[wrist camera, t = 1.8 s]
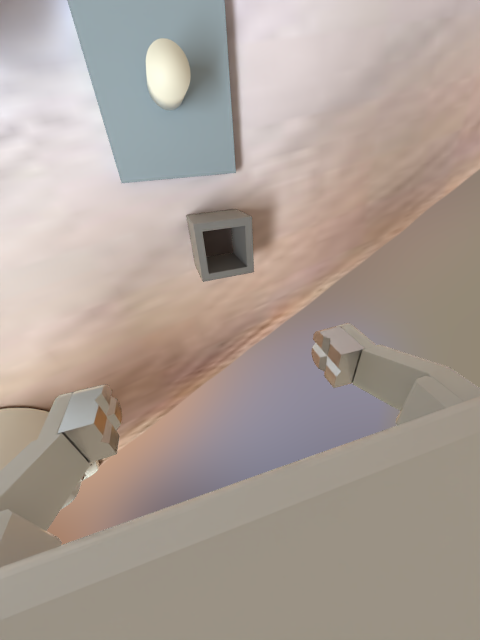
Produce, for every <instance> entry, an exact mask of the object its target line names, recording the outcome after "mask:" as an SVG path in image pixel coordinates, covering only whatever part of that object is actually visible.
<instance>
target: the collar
mask: <svg viewBox="0 0 480 640" xmlns="http://www.w3.org/2000/svg"><path fill="white" fill-rule="evenodd" d="M186 217H187V223H188V228H189V234H190V239H191V245H192V250H193V256H194V262H195V266H196V268H197V270H198V272H199V275H200V277H201V279H202V281H203V282H204V281H210V280H215V279H220V278H226V277H231V276H236V275H241V274H247V273H252V272H254V262H253V235H252V216H249V215H247V214H245V213H243V212H241V211H239V210H237V209H232V210H224V211H216V212H208V213H200V214H192V215H186ZM225 228H231V234H232V246H233V253H227V254H221V255H215V256H209V257H206V252H205V246H204V239H203V232H204V231H211V230H218V229H225Z"/></svg>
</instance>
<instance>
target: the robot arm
mask: <svg viewBox="0 0 480 640" xmlns="http://www.w3.org/2000/svg"><path fill="white" fill-rule="evenodd" d="M313 340H314V341H315V342H316V343H315V344H314V346H313V347H312V358H313V361H314V363H315V364H316V366H317V367H318V368H319V369H321V370H323V371H325V375H324V376H325V378H326V379H327V380H328V381H329V382H330V384H331V385H332V386H333V388H336V387H340V386H343V385H347V384H351V383H353V385H355V386H357V387H359V388H361V389H362V390H364V391H366V392H368V393H369V394H371V395H373V396H375V397H376V398H378V399H380V400H382V401H384V402H385V403H387V404H389V405H390V406H392V407H394V408H396V409H398V410H399V411H400V413H399V414H398V417H397V418H396V424H397V426H394V427H392V428H389V429H386V430H383V431H381V432H378V433H375V434H372V435H369V436H367V437H364V438H361V439H358V440H355V441H353V442H350V443H347V444H344V445H341V446H338V447H335V448H333V449H330V450H327V451H324V452H322V453H319V454H316V455H313V456H310V457H308V458H304V459H302V460H299V461H296V462H293V463H290V464H288V465H285V466H282V467H279V468H276V469H274V470H271V471H268V472H265V473H262V474H260V475H257V476H254V477H251V478H248V479H246V480H243V481H240V482H237V483H234V484H232V485H229V486H226V487H223V488H220V489H218V490H215V491H212V492H210V493H206V494H204V495H201V496H198V497H195V498H193V499H190V500H187V501H184V502H181V503H178V504H176V505H173V506H170V507H167V508H164V509H162V510H159V511H156V512H153V513H150V514H148V515H145V516H142V517H139V518H136V519H134V520H131V521H128V522H125V523H122V524H120V525H117V526H114V527H111V528H108V529H106V530H103V531H100V532H97V533H95V534H92V535H89V536H86V537H83V538H80V539H78V540H75V541H72V542H69V543H66V544H63V545H61V541H60V539H59V538H57V537H56V536H54V535H52V534H51V533H49V532H47V529H48V528H49V526H50V525H51V523H52V522H53V520H54V519H55V517H56V516H57V514H58V513H59V511H60V510H61V509H62V508H64V507H65V506H67V505H68V504H69V503H71V502H72V501H73V500H74V499H75V497H76V496H77V494H78V491H79V489H80V485H81V481H83V480H84V479H86V478H88V477H90V476H91V475H93V474H94V473H95V472H96V471H98V468H99V461H98V460H100V459H103V458H106V457H109V456H112V455H115V454H117V448H118V442H119V434H118V433H117V431H116V430H117V429H118V428H119V426H120V425H121V421H122V412H121V407H120V403H119V402H118V400H117V399H116V398H114V397H111V395H112V390H111V388H110V387H109V385H106V384H105V385H100V386H96V387H92V388H87V389H83V390H78V391H75V392H71V393H67V394H62V395H59V396H58V397H57V398H56V399H55V401H54V403H53V405H52V407H51V410H50V412H47V411H43V410H38V409H32V408H6V409H0V640H480V388H478V387H477V386H476V385H474V384H473V383H471V382H470V381H469V380H467V379H466V378H464V377H462V376H461V375H460V374H459V373H457V372H456V371H454V370H453V369H451V368H450V367H447V366H444V365H441V364H438V363H435V362H432V361H429V360H426V359H423V358H420V357H417V356H413V355H410V354H407V353H404V352H401V351H398V350H395V349H392V348H389V347H386V346H383V345H376V344H375V343H374V342H372V341H371V340H370V339H369V338H367V337H366V336H365V335H364V334H363V333H361V332H360V331H359V330H358V329H357V328H355V327H354V326H353V325H352V324H349V323H346V324H342V325H339V326H335V327H331V328H328V329H324V330H320V331H316V332H315V333H314V337H313Z"/></svg>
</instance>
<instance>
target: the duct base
mask: <svg viewBox="0 0 480 640" xmlns="http://www.w3.org/2000/svg"><path fill="white" fill-rule="evenodd" d="M67 1H68V4H69V7H70V11H71V14H72V17H73V21H74V24H75V28H76V31H77V34H78V38H79V41H80V44H81V48H82V51H83V54H84V58H85V61H86V65H87V68H88V71H89V75H90V78H91V81H92V85H93V88H94V91H95V95H96V98H97V102H98V105H99V108H100V112H101V115H102V118H103V122H104V125H105V128H106V132H107V135H108V139H109V142H110V145H111V149H112V152H113V155H114V159H115V162H116V165H117V169H118V172H119V176H120V179H121V182H122V183H129V182H140V181H151V180H162V179H173V178H184V177H195V176H206V175H217V174H228V173H236V168H235V153H234V137H233V122H232V107H231V92H230V77H229V61H228V46H227V31H226V16H225V1H224V0H67Z"/></svg>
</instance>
